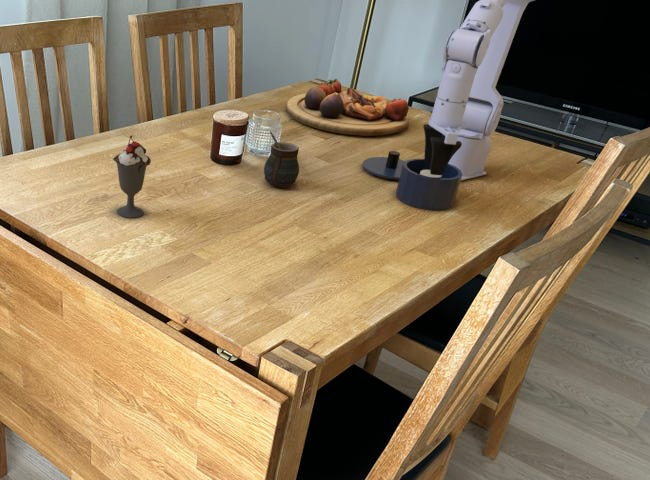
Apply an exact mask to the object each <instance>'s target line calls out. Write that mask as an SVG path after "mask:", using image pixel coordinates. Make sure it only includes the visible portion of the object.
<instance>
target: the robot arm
mask: <svg viewBox="0 0 650 480" xmlns="http://www.w3.org/2000/svg"><path fill="white" fill-rule="evenodd" d="M534 1H536V0H478V1H476V2H475V3H474V5H473V6H472V8H471V10H470V11H469V12H468V15H466V17H465V19H464V21H463V23H462V24H461V25H460V27H459V28H456V30H452V31H451V32H450V34H449V36H448V37H447V39H446V42H445V46H444V49H443V56H442V57H443V60H442V64H441V72H442V74H441V79H440V82H439V86H438V89H437V93H436V97H435V102H434V105H433V108H432V113H431V115H430V117H429V120H428V122H427V123H425V124H423V126H422V128H423V131H424V132H423V133H424V138H425V139H424V157H423V159H424V160H425V162H426V163H431V166H430V173H431V174H432V175H442V173H443V172H444V170H445V168H446V166H447V164H451V165H453V166H455V167H457V168H458V169H459V170H461V172H462V178H461V181H460V182H462V181H465V180H469V179H473V178H478V177H481V176H486V175H487V172H486V171H485V167H486V164H487V161H488V158H489V154H490V152H491V149H492V138H491V136H492V135H493V134H494V132H495V131H496V129H497V127H498V124H499V123H500V119H501V115H502V110H503V107H504V99H503V97H502V95H501V94H500V92H499V91H498V90H497V88H496V87H497V83H498V81H499V79H500V76H501V73H502V69H503V68H504V65H505V62H506V59H507V56H508V53H509V51H510V48H511V45H512V43H513V39H514V37H515V34H516V31H517V29H518V27H519V24H520V21H521V18H522V16H523V13H524V11H525V10H526V8H527V6H528V4H529V3H531V2H534ZM471 99H475V100H479V101H482V102H479V101H475V100H471ZM483 102H487V103H483ZM488 103H490V104H488Z"/></svg>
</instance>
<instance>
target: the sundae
mask: <svg viewBox="0 0 650 480" xmlns="http://www.w3.org/2000/svg"><path fill="white" fill-rule="evenodd" d="M131 141H132V142H131ZM146 153H147V149H146V147H144V146H143V145H142V144H141V143H139V142H137V141H134V139H133V135H132V134H131V135H130V136H129V140H128V143H127V144H126V146H125V147H124V149H123V150H122V152H121V153H120V152H119V153H118V154H117V155H115V156H114V157H112V158H113V159H112V160H113V161H114V163H116V168H117V174H118V183H119V188H120V190H121V191H122V192H123V193H124V194H125V195H126V197H127V198H126V199H127V201H126V204H125V206H121V207H118V208H117V210H116V214H117V215H118V216H120V217H123V218H126V219H127V218H128V219H136V218H140V217H142V216H143V215H144V214H145V212H144V210H143V209H142V208H141V207H137V206H135V196H136V195H137V194H139V193H140V191H142V190H143V185H144V182H145V181H144V180H145V176H146V170H147V167H148V166H150V165H151V163H152V161H151V157H150V156H148V155H146Z"/></svg>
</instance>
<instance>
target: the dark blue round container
mask: <svg viewBox="0 0 650 480" xmlns="http://www.w3.org/2000/svg"><path fill="white" fill-rule="evenodd" d="M404 161H405V162H404V163H403V166H402V170H401V174H400V178H399V180H398V182H397V186H396V189H395V196H396V198H397V200H399V201H400V202H402V203H403V204H405V205H408V206H409V207H413V208H417V209H420V210H426V211H445V210H448V209H450V208H452V207H453V205H454V203H455V200H456V197H457V194H458V190H459V188H460V184H461V182H462V181H461V178H462V172H461V170H459V169H458V168H457V167H455V166H453V165H451V164H447V166H446V168H445V170H444V172H443V173H442V177H441V178H433V177H427V176H424V175H420V172H421V171H422V170H430V166H431V163H426V162H425V160H424V158H411V159H406V160H404Z"/></svg>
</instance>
